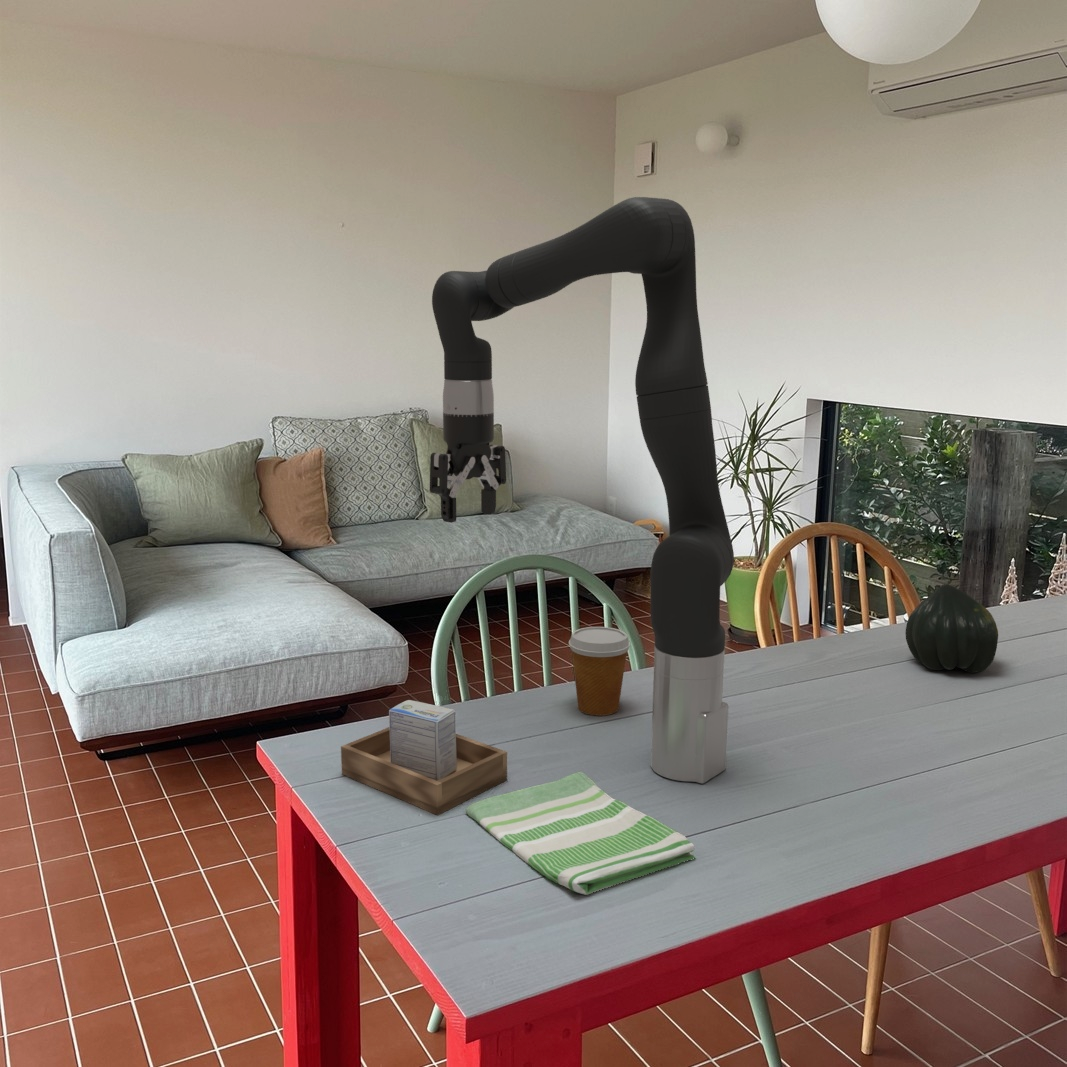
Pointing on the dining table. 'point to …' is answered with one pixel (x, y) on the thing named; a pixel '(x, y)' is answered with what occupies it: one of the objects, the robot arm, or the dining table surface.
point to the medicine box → (423, 738)
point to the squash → (952, 632)
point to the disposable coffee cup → (598, 668)
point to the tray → (470, 779)
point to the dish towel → (580, 834)
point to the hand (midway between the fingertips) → (469, 517)
